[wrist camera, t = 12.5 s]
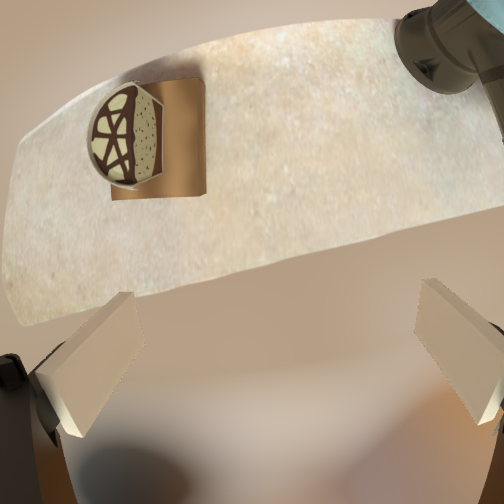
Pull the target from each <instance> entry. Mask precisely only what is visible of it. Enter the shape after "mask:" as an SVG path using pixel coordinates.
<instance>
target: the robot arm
mask: <svg viewBox="0 0 504 504" xmlns="http://www.w3.org/2000/svg"><path fill="white" fill-rule="evenodd" d="M395 44H396V48H397V51H398V54H399V56H400V58H401V60H402V62H403V64H404V65H405V67H406V68H407V70H408V71H409V72H410V73H411V74H412V76H413V77H414V78H415V79H416V80H418V81H419V82H420V83H421V84H423V85H424V86H425V87H427V88H429V89H430V90H432V91H435V92H437V93H441V94H447V95H451V94H456V93H459V92H462V91H465V90H467V89H468V88H469V87H471V86H472V84H473V83H474V81H475V80H476V79H477V78H478V76H479V77H480V79H481V82H482V84H483V87H484V89H485V91H486V94H487V96H488V99H489V101H490V104H491V106H492V109H493V111H494V114H495V117H496V120H497V122H498V125H499V128H500V131H501V134H502V137H503V139H502V141H503V144H504V0H438V1H437V2H436V3H435V4H434V5H433V6H431V7H427V8H422V9H417V10H414V11H411V12H410V13H408V14H407V15H405V16H404V18H403V19H402V20H401V21H400V22H399V23H398V25H397V27H396V31H395ZM487 82H488V83H487ZM414 333H415V335H416V336H417V337H418V339H419V340H420V341H421V343H422V344H423V345H424V347H425V348H426V350H427V351H428V352H429V354H430V355H431V356H432V358H433V359H434V361H435V362H436V363H437V365H438V366H439V368H440V369H441V371H442V372H443V374H444V375H445V376H446V378H447V379H448V381H449V382H450V383H451V385H452V387H453V388H454V390H455V391H456V392H457V394H458V396H459V397H460V399H461V400H462V402H463V403H464V405H465V406H466V408H467V410H468V411H469V413H470V414H471V416H472V417H473V419H474V421H475V422H476V424H477V425H480V424H482V423H485V422H488V421H490V420H493V419H494V417H495V415H496V413H497V411H498V409H499V407H500V406H501V407H502V409H503V410H504V331H503V330H502V329H500V327H498V326H496V325H494V324H492V323H490V322H488V321H487V320H486V319H484V318H483V317H482V316H481V315H480V314H479V313H477V312H476V311H475V310H474V309H473V308H472V307H470V306H469V305H468V304H467V303H466V302H464V301H463V300H462V299H461V298H460V297H458V296H457V295H456V294H455V293H454V292H452V291H451V290H450V289H449V288H447V287H446V286H445V285H444V284H442V283H441V282H440V281H438V280H437V279H436V278H433V279H422V284H421V292H420V299H419V306H418V312H417V318H416V324H415V329H414ZM144 344H145V340H144V336H143V332H142V328H141V324H140V319H139V315H138V311H137V306H136V302H135V297H134V292H119V293H118V294H117V295H116V296H115V297H113V298H112V299H111V300H110V301H109V302H108V303H107V304H106V305H104V306H103V307H102V308H101V309H100V310H99V311H98V312H97V313H96V314H95V315H94V316H92V317H91V318H90V319H89V320H88V321H87V322H86V323H85V324H84V325H83V326H82V327H80V328H79V329H78V330H77V331H76V332H75V333H74V334H73V335H72V336H71V337H70V338H69V339H68V340H67V341H65V342H63V343H61V344H60V345H58V346H57V347H56V348H55V349H54V350H53V351H52V353H50V354H49V355H48V356H47V357H46V359H44V360H43V361H41V362H40V363H39V365H37V366H36V367H35V368H34V369H33V370H32V371H31V372H30V373H29V374H28V375H27V373H26V371H25V368H24V366H23V364H22V361H21V359H20V357H19V356H18V355H17V354H12V353H11V354H5V355H2V356H0V504H78V502H77V499H76V496H75V493H74V490H73V487H72V483H71V480H70V476H69V473H68V469H67V465H66V461H65V457H64V453H63V449H62V444H61V439H60V435H59V433H58V431H57V429H56V426H57V425H58V424H59V422H61V424H62V426H63V427H64V429H65V431H66V432H67V433H68V434H72V435H75V436H78V437H82V438H84V436H85V434H86V433H87V431H88V430H89V428H90V427H91V425H92V423H93V422H94V420H95V419H96V417H97V416H98V414H99V412H100V411H101V409H102V408H103V406H104V405H105V403H106V401H107V400H108V398H109V397H110V395H111V394H112V392H113V391H114V389H115V388H116V386H117V385H118V383H119V382H120V380H121V379H122V377H123V376H124V374H125V372H126V371H127V370H128V368H129V367H130V365H131V364H132V362H133V361H134V359H135V358H136V356H137V355H138V353H139V352H140V350H141V349H142V347H143V346H144ZM498 430H499V431H498ZM497 431H498V436H497V441H496V445H495V450H494V454H493V458H492V461H491V465H490V469H489V472H488V476H487V479H486V482H485V485H484V488H483V491H482V494H481V497H480V500H479V503H478V504H504V414H503V416H502V418H501V420H500V422H499V423H498V425H497V427H496V429H495V430H494V432H493V434H492V435H495V434H496V432H497Z"/></svg>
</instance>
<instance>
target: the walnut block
mask: <svg viewBox="0 0 504 504" xmlns="http://www.w3.org/2000/svg"><path fill="white" fill-rule="evenodd" d="M140 87H141V88H143V89H144V90H145V91H147V92H148V93H149V94H151V95H152V96H153V97H155V98H156V99H157V100H158V101H160V102H161V103H162V104H164V144H163V156H164V174H162V175H159V176H157V177H155V178H152V179H150V180H148V181H145V182H143V183H141V184H138V185H136V186H134V188H137V189H139V190H129V189H125V188H120V187H117V186H115V185H113V184H111V197H112V201H113V200H128V199H146V198H167V197H194V196H201V195H204V194H206V154H205V85H204V84H203V82H202V81H201V80H200V79H199V78H198V77H196V78H187V79H179V80H171V81H164V82H157V83H151V84H145V85H140Z"/></svg>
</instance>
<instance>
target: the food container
mask: <svg viewBox="0 0 504 504" xmlns="http://www.w3.org/2000/svg"><path fill="white" fill-rule="evenodd" d="M139 82H140V81H136V80H134V81H130V82H127V83H124V84H122V85H120V86H118V87H116V88H114V89H113V90H111V91H110V92H109V93H108V94H107V95H105V96H104V97H103V99H102V100H101V101H100V102H99V103H98V105H97V106H96V108H95V110H94V112H93V114H92V116H91V118H90V121H89V124H88V129H87V138H86V141H87V150H88V155H89V158H90V160H91V163H92V165H93V166H94V168H95V169H96V171H97V172H98V173H99V174H100V175H101V176H102V177H103V178H104V179H105V180H106V181H108V182H109V183H111V184H113V185H115V186H117V187H120V188H125V189H129V190H139V189H137V188H134V186H136V185H138V184H141V183H143V182H145V181H148V180H150V179H152V178H155V177H157V176H159V175H162V174H164V156H163V144H164V104H162V103H161V102H160V101H158V100H157V99H156V98H155V97H153V96H152V95H151V94H149V93H148V92H147V91H145V90H144V89H143V88H141V87H140V86H139V85H137V84H136V83H139Z"/></svg>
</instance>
